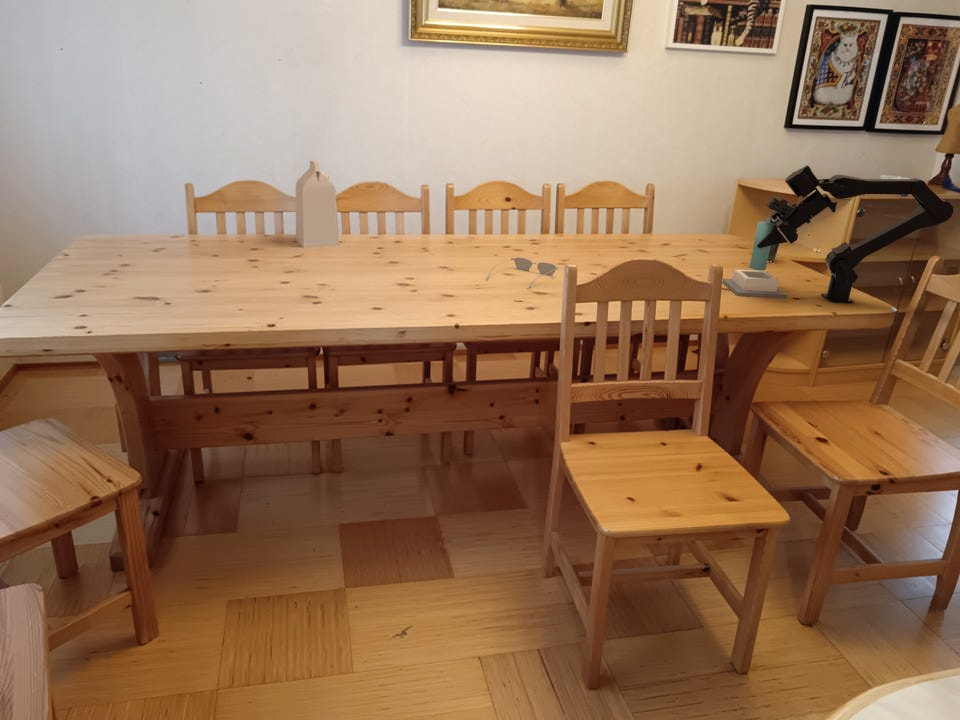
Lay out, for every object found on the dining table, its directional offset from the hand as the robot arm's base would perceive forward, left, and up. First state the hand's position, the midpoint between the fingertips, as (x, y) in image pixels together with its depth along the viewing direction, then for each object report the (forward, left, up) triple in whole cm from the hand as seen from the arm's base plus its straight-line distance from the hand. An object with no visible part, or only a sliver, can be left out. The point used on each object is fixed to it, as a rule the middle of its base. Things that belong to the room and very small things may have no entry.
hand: (757, 245), depth 203 cm
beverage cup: (+36, -19, -13) cm, 43 cm away
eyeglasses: (+1, +67, -14) cm, 68 cm away
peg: (0, -1, -7) cm, 7 cm away
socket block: (0, -1, -13) cm, 13 cm away
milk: (+33, +132, -13) cm, 136 cm away
